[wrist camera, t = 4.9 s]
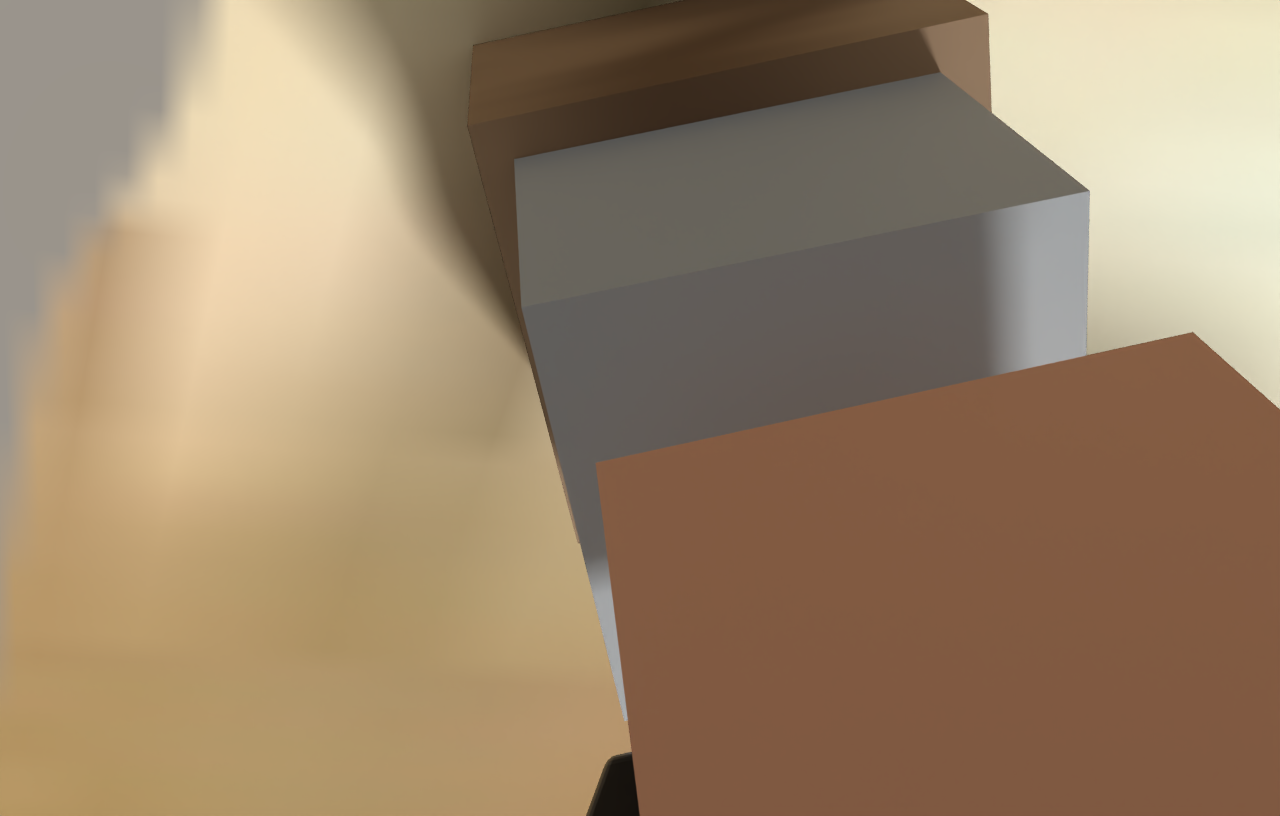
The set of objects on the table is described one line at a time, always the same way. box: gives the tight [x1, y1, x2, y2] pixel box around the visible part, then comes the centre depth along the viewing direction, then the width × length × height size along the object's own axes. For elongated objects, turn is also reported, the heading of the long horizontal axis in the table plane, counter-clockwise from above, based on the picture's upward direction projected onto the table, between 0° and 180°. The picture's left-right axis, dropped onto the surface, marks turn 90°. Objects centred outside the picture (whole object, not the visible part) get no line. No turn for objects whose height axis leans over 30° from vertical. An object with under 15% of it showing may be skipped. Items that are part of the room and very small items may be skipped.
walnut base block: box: [467, 0, 992, 543], centre depth 17 cm, size 6×6×4 cm
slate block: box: [514, 72, 1090, 721], centre depth 13 cm, size 5×5×4 cm
